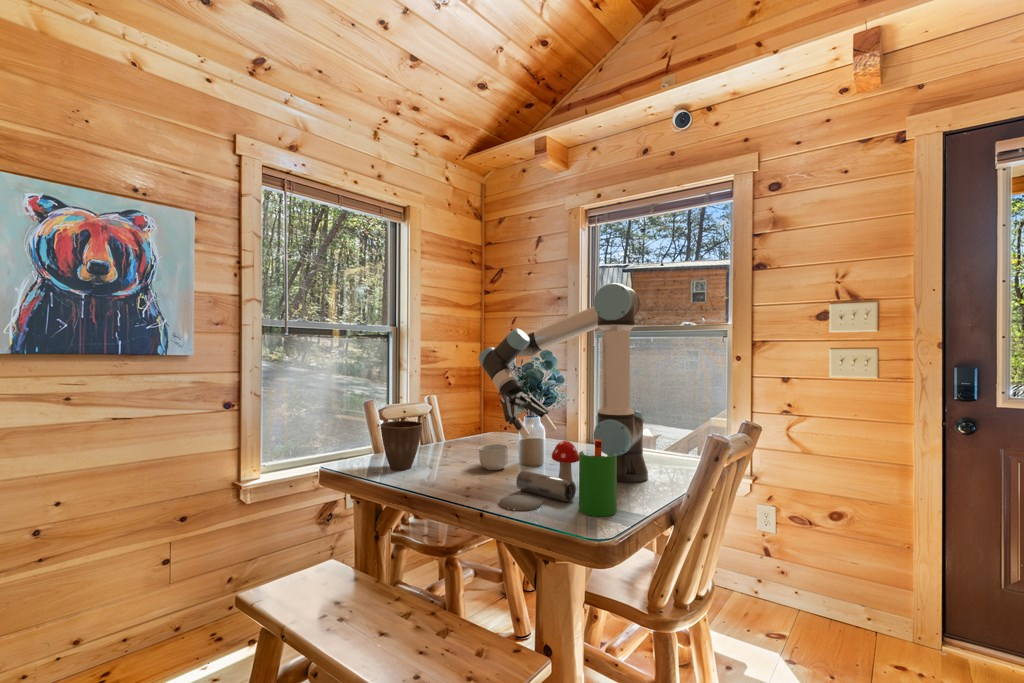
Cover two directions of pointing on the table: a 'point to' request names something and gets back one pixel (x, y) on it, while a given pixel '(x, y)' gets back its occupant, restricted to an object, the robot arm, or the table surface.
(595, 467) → the motor
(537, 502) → the rubber mat
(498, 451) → the teacup
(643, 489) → the table surface
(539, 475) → the metal pipe
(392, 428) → the plant pot
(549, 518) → the table surface
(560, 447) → the decorative mushroom
